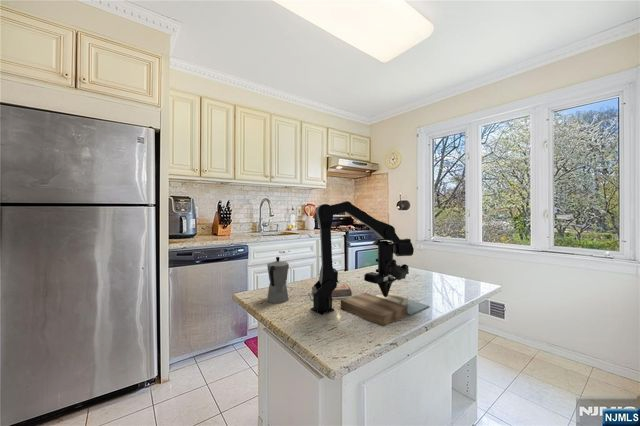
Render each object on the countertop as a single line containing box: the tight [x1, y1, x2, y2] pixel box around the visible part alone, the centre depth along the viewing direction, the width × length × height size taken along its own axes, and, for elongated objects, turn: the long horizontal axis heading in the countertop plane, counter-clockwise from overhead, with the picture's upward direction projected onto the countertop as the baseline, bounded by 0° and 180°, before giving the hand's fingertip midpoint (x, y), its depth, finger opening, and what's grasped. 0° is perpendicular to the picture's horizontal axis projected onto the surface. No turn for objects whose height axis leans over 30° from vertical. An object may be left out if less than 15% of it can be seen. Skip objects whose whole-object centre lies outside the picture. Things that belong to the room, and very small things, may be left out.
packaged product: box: [308, 284, 354, 302], centre depth 114 cm, size 18×5×10 cm
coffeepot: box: [266, 256, 290, 304], centre depth 109 cm, size 15×9×18 cm, turn 172°
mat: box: [372, 292, 430, 317], centre depth 106 cm, size 13×22×1 cm, turn 39°
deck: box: [340, 292, 409, 327], centre depth 97 cm, size 14×20×3 cm
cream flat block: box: [374, 292, 409, 305], centre depth 104 cm, size 8×10×2 cm
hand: (385, 296), depth 102 cm, fingers closed
